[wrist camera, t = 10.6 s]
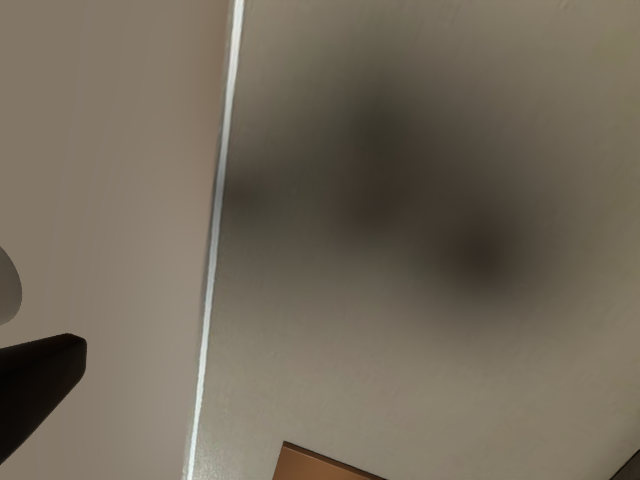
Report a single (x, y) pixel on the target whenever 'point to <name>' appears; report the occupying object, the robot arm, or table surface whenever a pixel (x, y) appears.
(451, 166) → the table surface
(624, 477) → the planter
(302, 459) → the coaster
